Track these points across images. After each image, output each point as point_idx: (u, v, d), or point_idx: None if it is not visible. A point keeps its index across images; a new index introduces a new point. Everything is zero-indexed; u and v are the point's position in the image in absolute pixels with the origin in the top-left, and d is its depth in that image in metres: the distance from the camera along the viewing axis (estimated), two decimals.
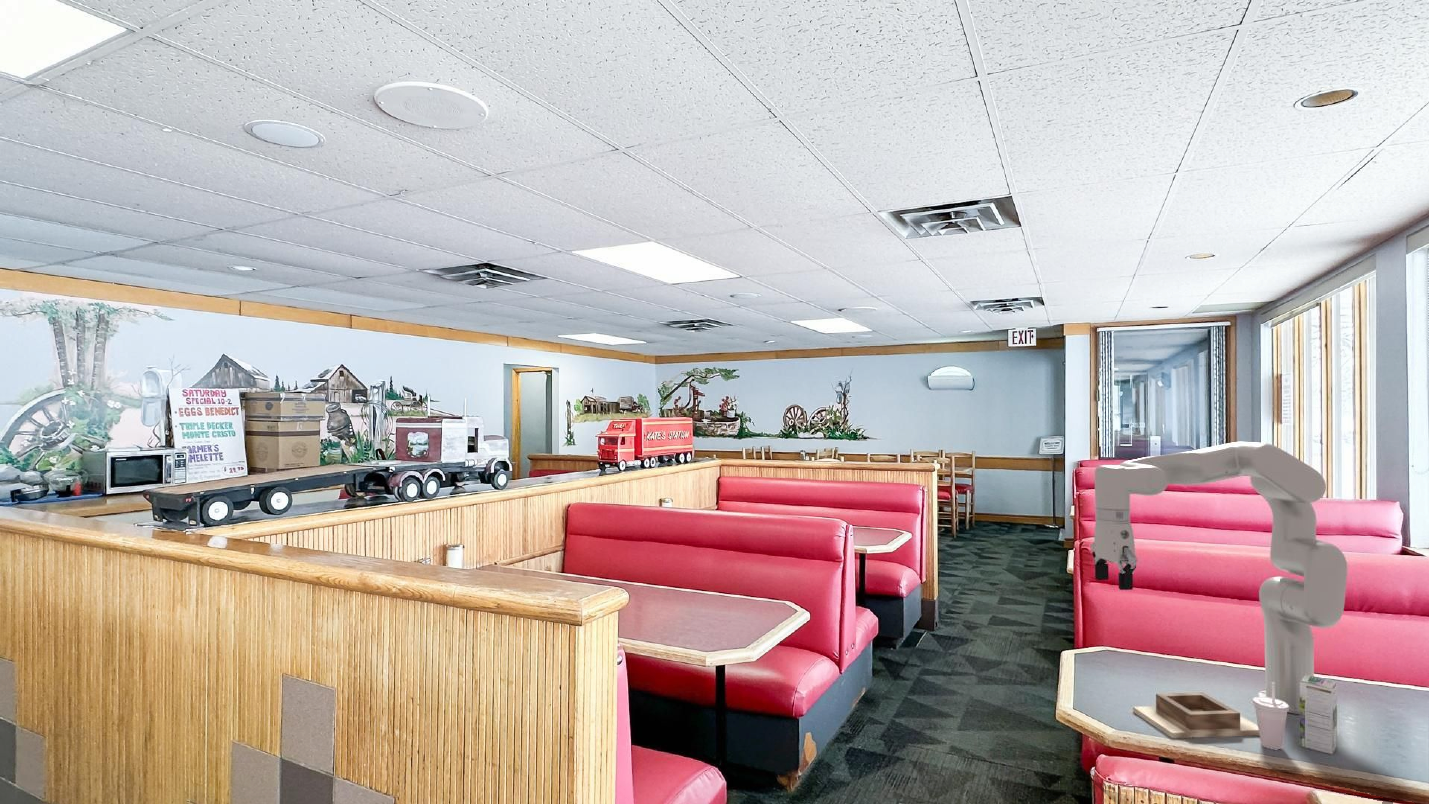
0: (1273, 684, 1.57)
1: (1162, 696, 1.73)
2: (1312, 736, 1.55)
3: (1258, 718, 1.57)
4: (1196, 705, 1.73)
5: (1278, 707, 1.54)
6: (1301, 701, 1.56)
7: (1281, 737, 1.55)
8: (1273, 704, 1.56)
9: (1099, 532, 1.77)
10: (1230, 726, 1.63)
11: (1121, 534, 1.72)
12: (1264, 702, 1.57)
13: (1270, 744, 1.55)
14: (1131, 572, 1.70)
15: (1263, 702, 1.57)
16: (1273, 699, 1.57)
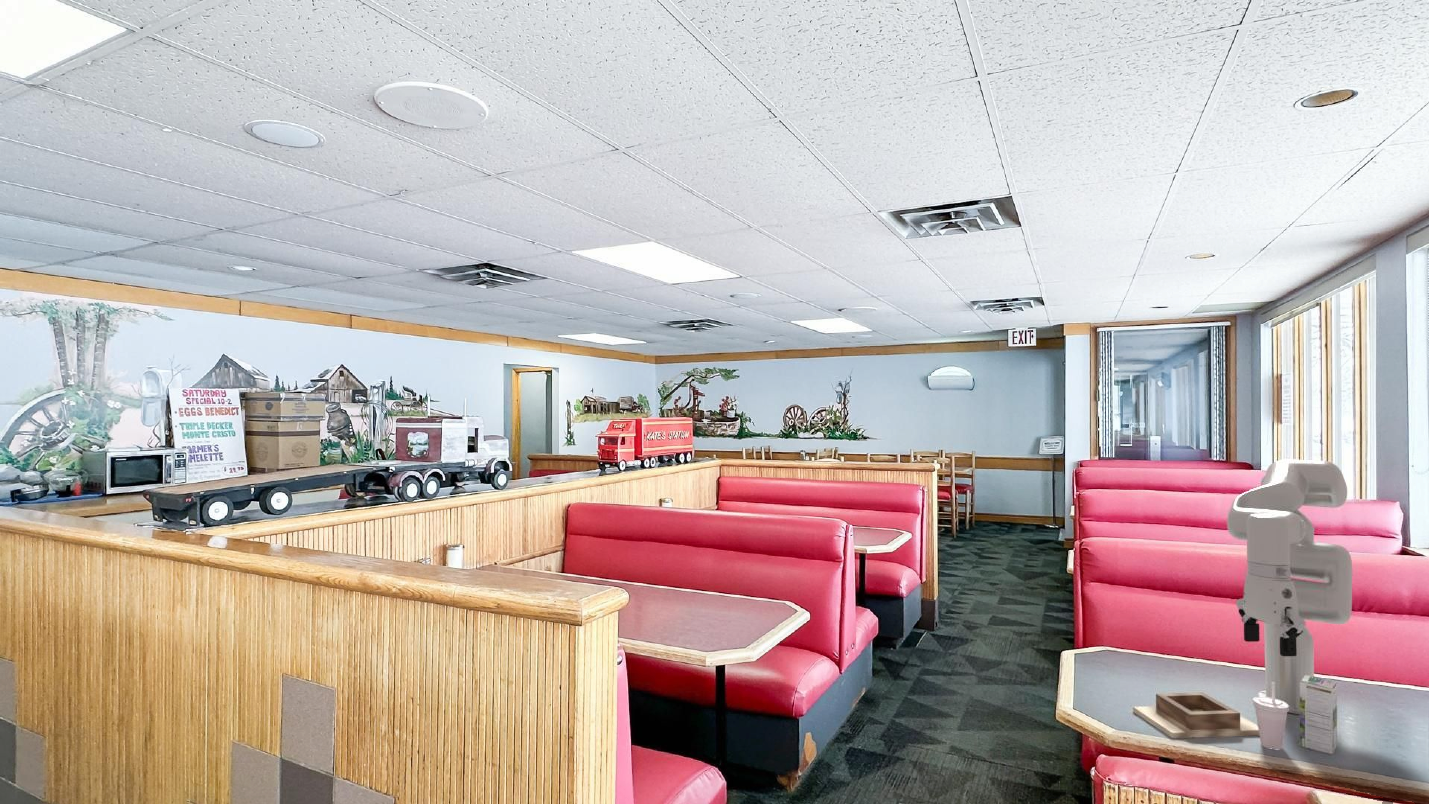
0: (1273, 684, 1.57)
1: (1162, 696, 1.73)
2: (1312, 736, 1.55)
3: (1258, 718, 1.57)
4: (1196, 705, 1.73)
5: (1278, 707, 1.54)
6: (1301, 701, 1.56)
7: (1281, 737, 1.55)
8: (1273, 704, 1.56)
9: (1253, 588, 1.58)
10: (1230, 726, 1.63)
11: (1282, 593, 1.53)
12: (1264, 702, 1.57)
13: (1270, 744, 1.55)
14: (1296, 637, 1.51)
15: (1263, 702, 1.57)
16: (1273, 699, 1.57)
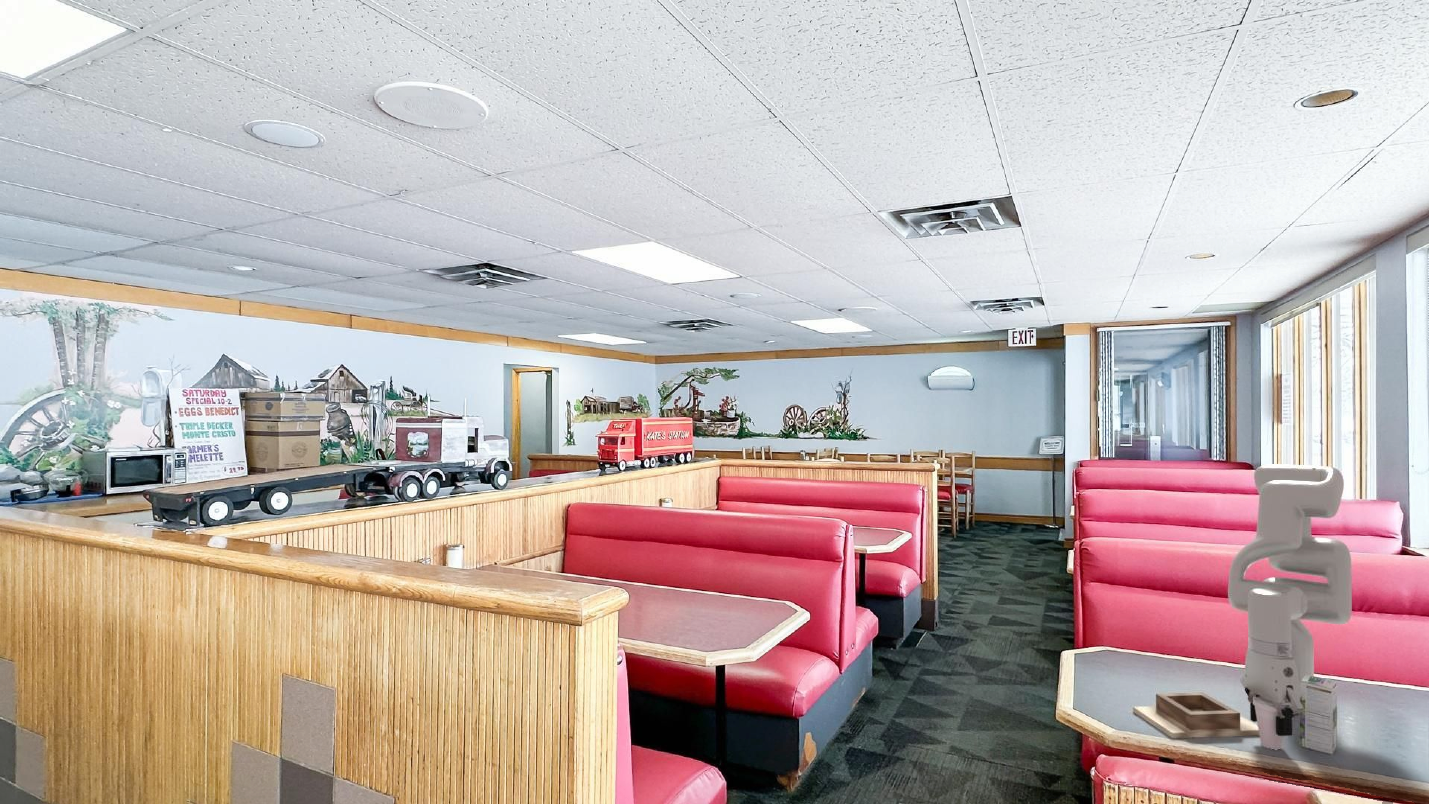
0: None
1: (1162, 696, 1.73)
2: (1312, 736, 1.55)
3: (1258, 718, 1.57)
4: (1196, 705, 1.73)
5: None
6: (1301, 701, 1.56)
7: (1281, 737, 1.55)
8: (1273, 704, 1.56)
9: (1254, 664, 1.58)
10: (1230, 726, 1.63)
11: (1283, 671, 1.53)
12: (1264, 702, 1.57)
13: (1270, 744, 1.55)
14: (1291, 718, 1.52)
15: (1263, 702, 1.57)
16: None
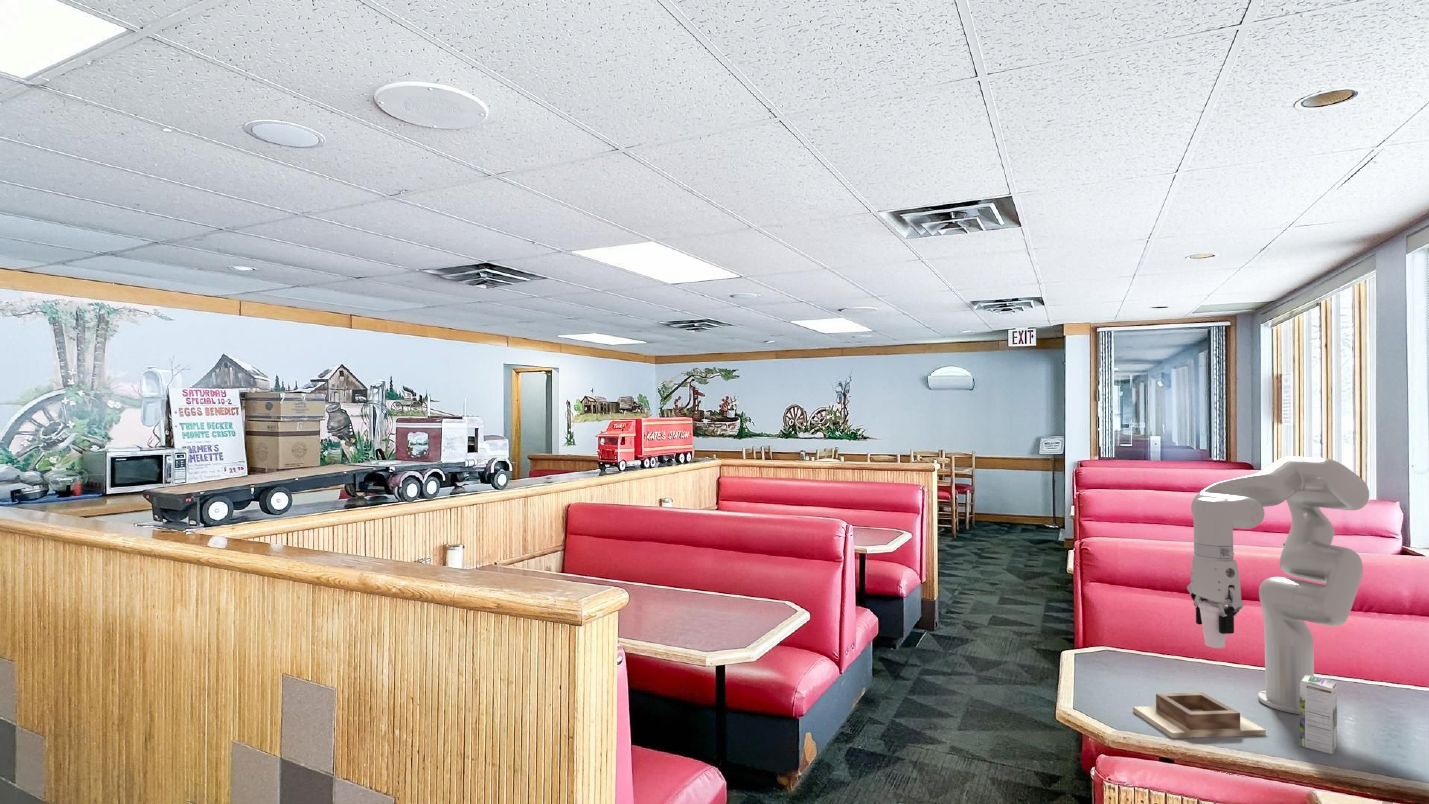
0: None
1: (1162, 696, 1.73)
2: (1312, 736, 1.55)
3: (1203, 619, 1.66)
4: (1196, 705, 1.73)
5: None
6: (1301, 701, 1.56)
7: (1224, 636, 1.63)
8: (1216, 605, 1.64)
9: (1199, 568, 1.67)
10: (1230, 726, 1.63)
11: (1226, 572, 1.61)
12: (1208, 604, 1.65)
13: (1213, 643, 1.64)
14: (1233, 616, 1.61)
15: (1207, 604, 1.65)
16: None
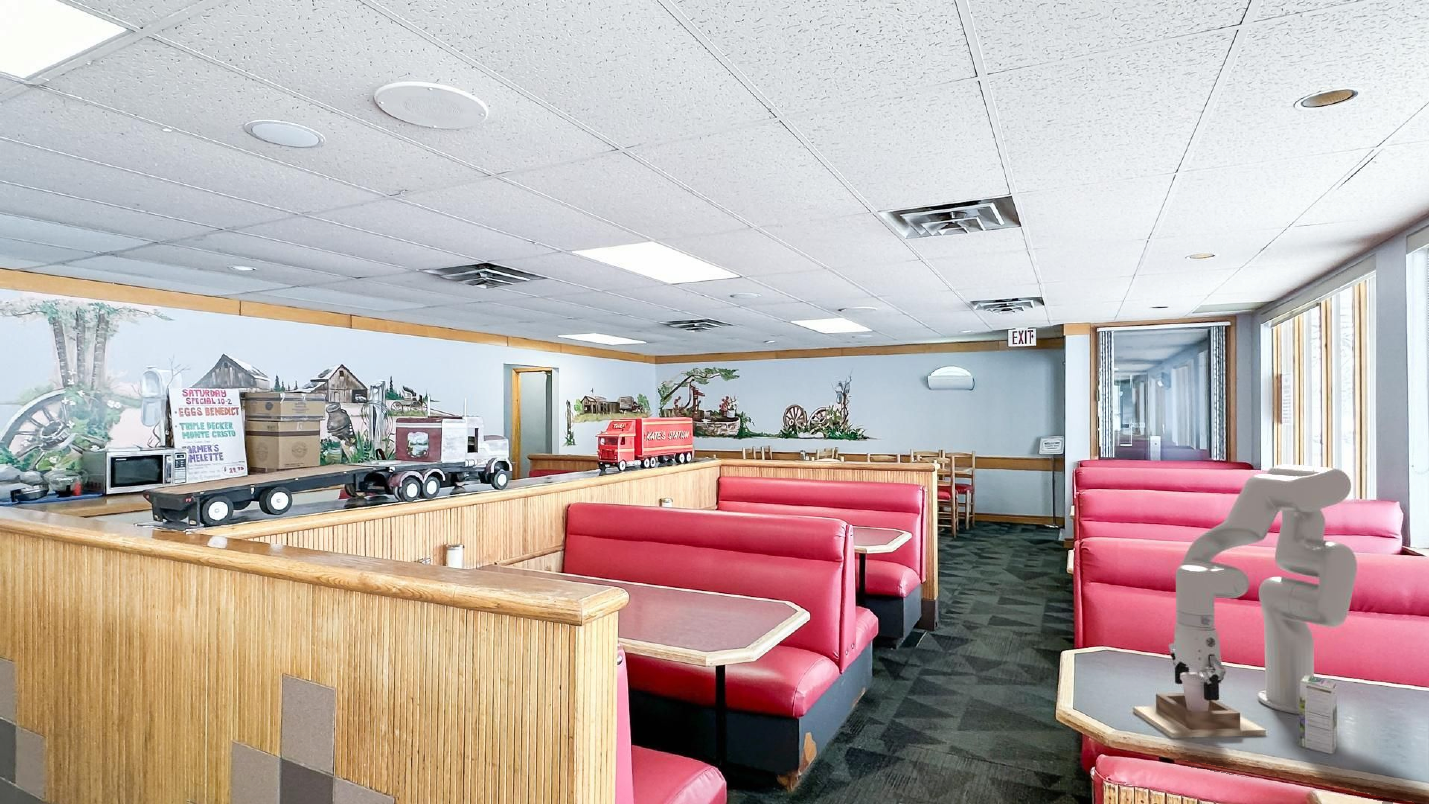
0: None
1: (1162, 696, 1.73)
2: (1312, 736, 1.55)
3: (1185, 692, 1.69)
4: None
5: (1202, 680, 1.66)
6: (1301, 701, 1.56)
7: (1206, 709, 1.66)
8: (1198, 678, 1.67)
9: (1181, 635, 1.70)
10: (1230, 726, 1.63)
11: (1206, 641, 1.65)
12: (1190, 676, 1.69)
13: None
14: (1218, 682, 1.62)
15: (1189, 676, 1.69)
16: (1198, 673, 1.68)
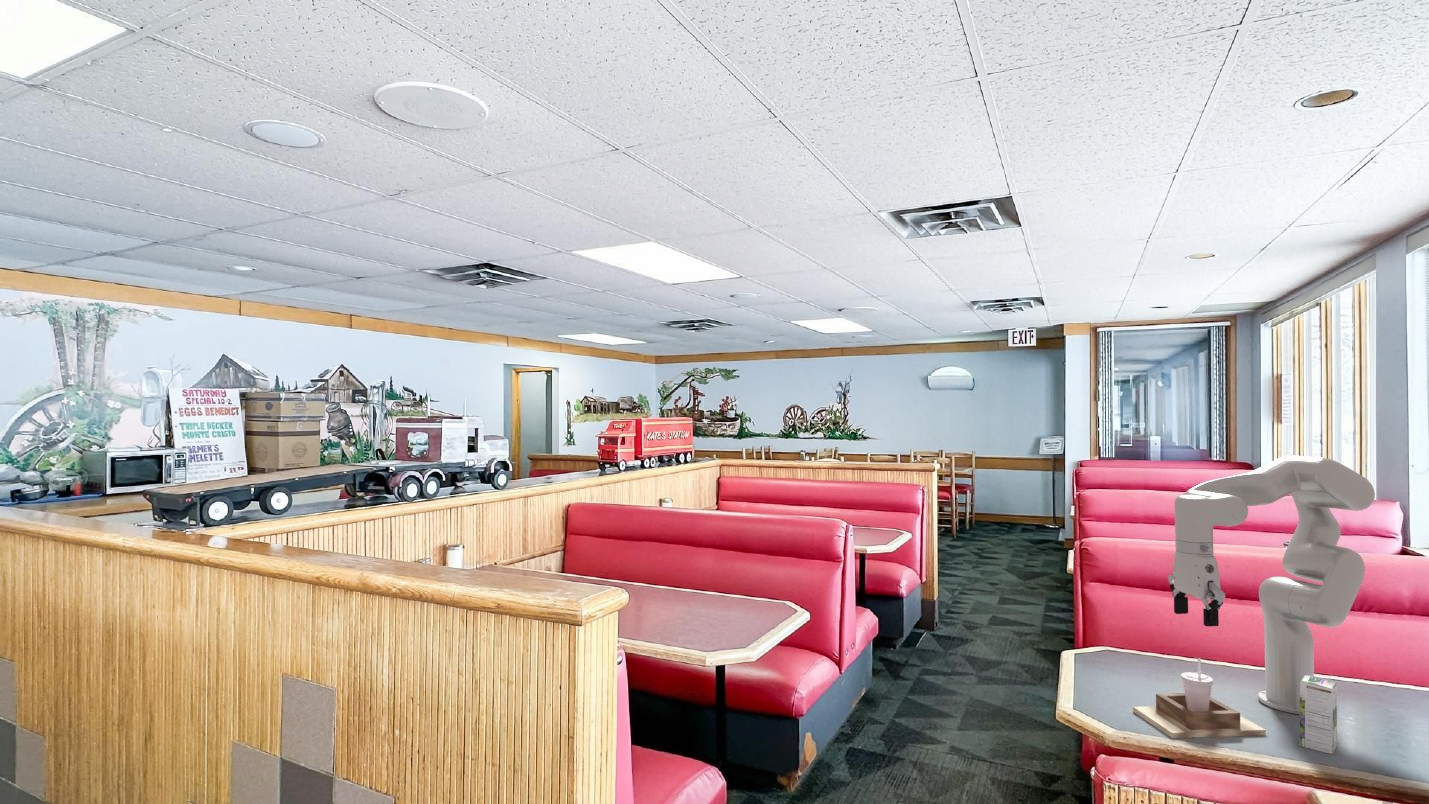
0: (1199, 660, 1.68)
1: (1162, 696, 1.73)
2: (1312, 736, 1.55)
3: (1185, 692, 1.69)
4: None
5: (1203, 681, 1.66)
6: (1301, 701, 1.56)
7: (1206, 709, 1.66)
8: (1199, 678, 1.67)
9: (1180, 564, 1.70)
10: (1230, 726, 1.63)
11: (1205, 568, 1.65)
12: (1191, 677, 1.68)
13: None
14: (1217, 608, 1.63)
15: (1190, 677, 1.68)
16: (1199, 674, 1.68)
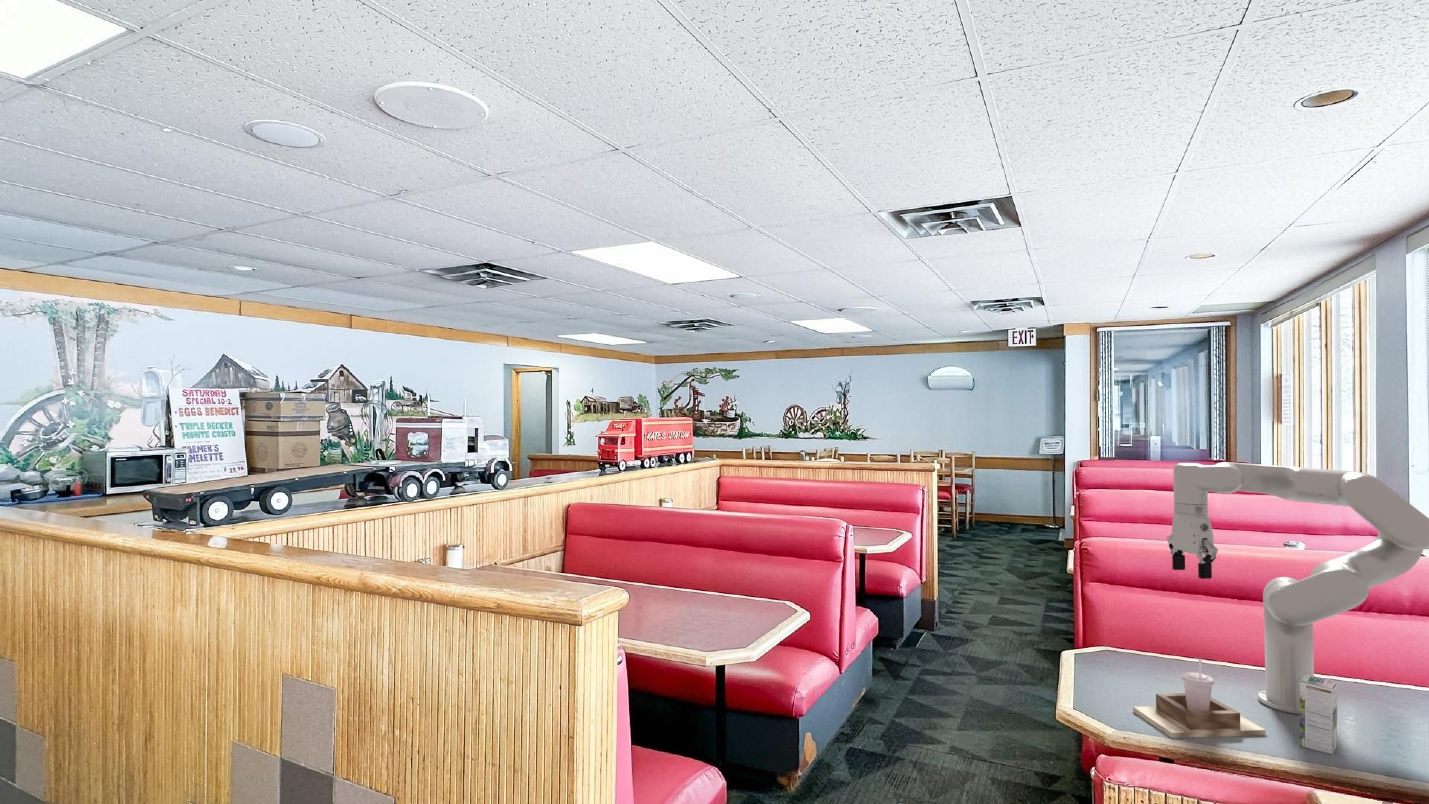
0: (1200, 660, 1.68)
1: (1162, 696, 1.73)
2: (1312, 736, 1.55)
3: (1186, 692, 1.69)
4: None
5: (1204, 681, 1.66)
6: (1301, 701, 1.56)
7: (1206, 709, 1.66)
8: (1199, 679, 1.67)
9: (1178, 525, 1.91)
10: (1230, 726, 1.63)
11: (1200, 527, 1.85)
12: (1191, 677, 1.68)
13: None
14: (1210, 562, 1.83)
15: (1191, 677, 1.68)
16: (1200, 674, 1.68)
